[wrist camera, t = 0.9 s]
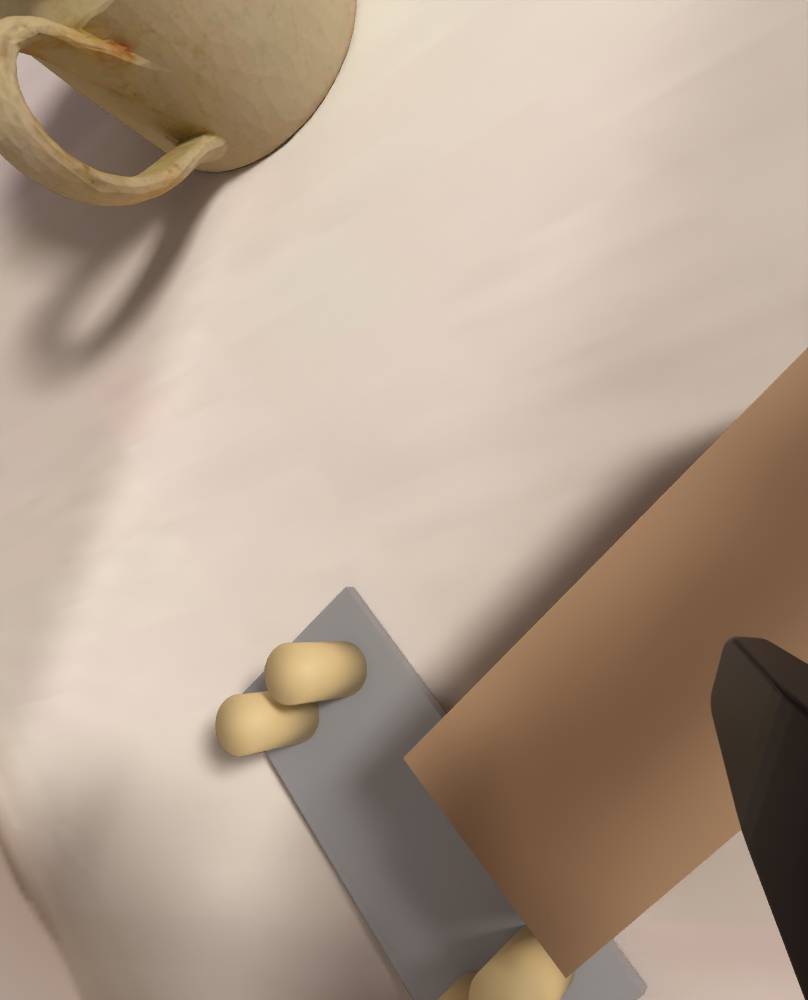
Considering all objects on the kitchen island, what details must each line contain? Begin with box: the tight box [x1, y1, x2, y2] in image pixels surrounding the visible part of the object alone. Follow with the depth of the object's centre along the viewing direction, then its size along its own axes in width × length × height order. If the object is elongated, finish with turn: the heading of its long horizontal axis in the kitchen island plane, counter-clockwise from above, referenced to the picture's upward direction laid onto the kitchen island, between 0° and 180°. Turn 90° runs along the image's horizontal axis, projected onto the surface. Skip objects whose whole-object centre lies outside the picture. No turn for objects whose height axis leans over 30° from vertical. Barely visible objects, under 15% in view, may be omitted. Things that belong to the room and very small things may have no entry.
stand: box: [216, 587, 647, 1000], centre depth 22 cm, size 14×6×4 cm, turn 40°
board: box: [403, 348, 808, 978], centre depth 18 cm, size 6×14×6 cm, turn 133°
